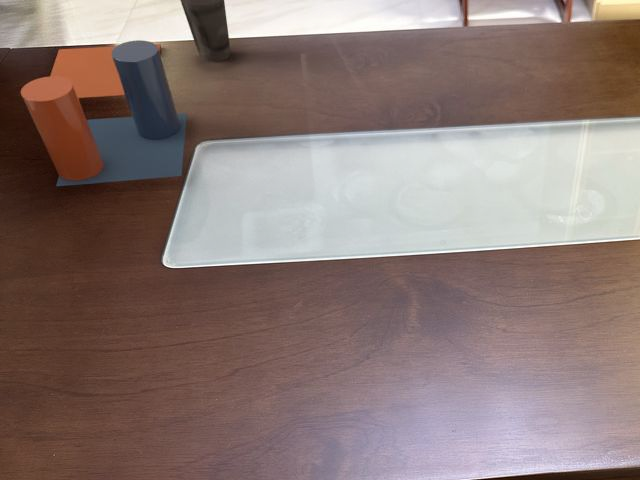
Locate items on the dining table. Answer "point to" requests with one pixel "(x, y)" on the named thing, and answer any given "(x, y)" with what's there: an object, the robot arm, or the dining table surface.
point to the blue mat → (133, 152)
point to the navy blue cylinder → (146, 89)
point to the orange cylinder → (63, 127)
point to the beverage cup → (208, 28)
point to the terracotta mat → (90, 71)
